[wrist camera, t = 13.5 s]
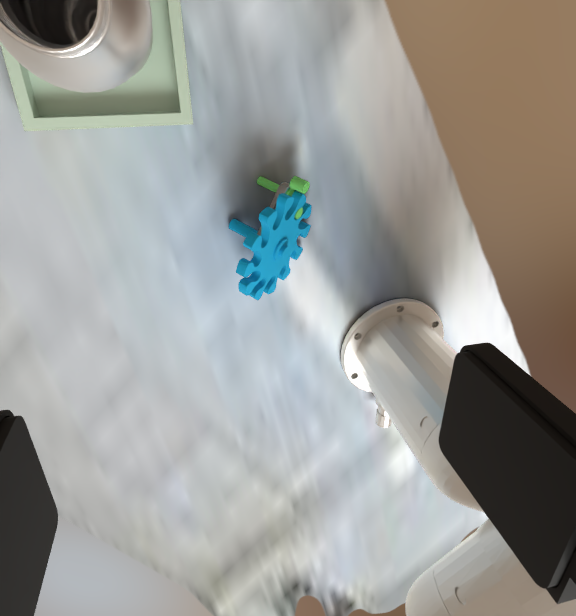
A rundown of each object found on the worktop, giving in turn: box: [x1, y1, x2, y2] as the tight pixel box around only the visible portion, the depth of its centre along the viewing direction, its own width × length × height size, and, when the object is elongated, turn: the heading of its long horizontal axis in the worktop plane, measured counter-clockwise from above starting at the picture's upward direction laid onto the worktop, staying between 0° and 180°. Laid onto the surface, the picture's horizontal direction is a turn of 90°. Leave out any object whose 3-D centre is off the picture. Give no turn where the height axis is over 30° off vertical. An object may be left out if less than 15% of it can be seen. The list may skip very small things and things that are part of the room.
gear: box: [229, 176, 311, 300], centre depth 39 cm, size 11×6×10 cm
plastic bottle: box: [0, 0, 153, 93], centre depth 22 cm, size 6×7×20 cm
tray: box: [0, 0, 193, 131], centre depth 30 cm, size 12×12×2 cm
